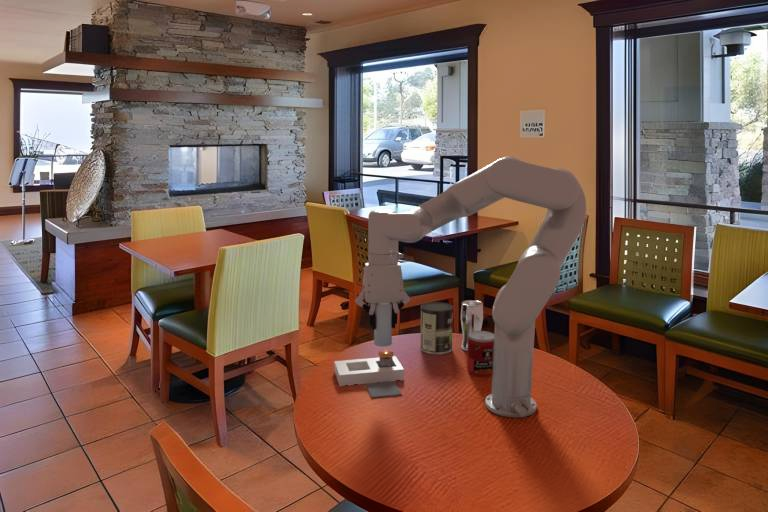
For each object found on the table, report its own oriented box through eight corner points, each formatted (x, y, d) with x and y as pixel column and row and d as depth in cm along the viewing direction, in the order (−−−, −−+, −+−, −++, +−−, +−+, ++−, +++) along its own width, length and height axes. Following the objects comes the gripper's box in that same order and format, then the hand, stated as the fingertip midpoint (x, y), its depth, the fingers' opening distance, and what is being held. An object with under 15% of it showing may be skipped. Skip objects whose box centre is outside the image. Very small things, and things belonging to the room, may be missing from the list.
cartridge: (389, 339, 150) (389, 297, 148) (393, 345, 146) (393, 302, 144) (372, 340, 149) (372, 298, 147) (376, 347, 145) (376, 303, 143)
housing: (404, 380, 157) (404, 369, 156) (339, 386, 153) (339, 375, 152) (395, 366, 166) (395, 356, 166) (334, 371, 162) (334, 361, 162)
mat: (401, 395, 147) (401, 393, 147) (371, 398, 146) (371, 396, 146) (394, 382, 155) (394, 381, 155) (365, 385, 153) (365, 384, 153)
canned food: (474, 378, 158) (475, 341, 155) (462, 367, 165) (463, 331, 163) (499, 375, 160) (500, 338, 158) (486, 364, 167) (488, 329, 165)
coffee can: (453, 344, 184) (454, 302, 181) (450, 355, 174) (451, 312, 171) (422, 342, 186) (422, 300, 183) (417, 353, 176) (418, 310, 173)
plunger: (394, 374, 159) (395, 354, 158) (380, 376, 158) (380, 355, 157) (391, 369, 163) (391, 349, 162) (377, 370, 162) (377, 350, 161)
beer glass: (455, 346, 182) (456, 301, 179) (473, 343, 185) (475, 298, 182) (467, 353, 176) (469, 307, 173) (486, 350, 179) (488, 304, 176)
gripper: (411, 254, 148) (410, 320, 152) (347, 257, 145) (348, 325, 149) (419, 260, 141) (418, 329, 145) (352, 263, 138) (353, 334, 141)
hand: (382, 326), depth 147 cm, fingers closed on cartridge, 4 cm apart
